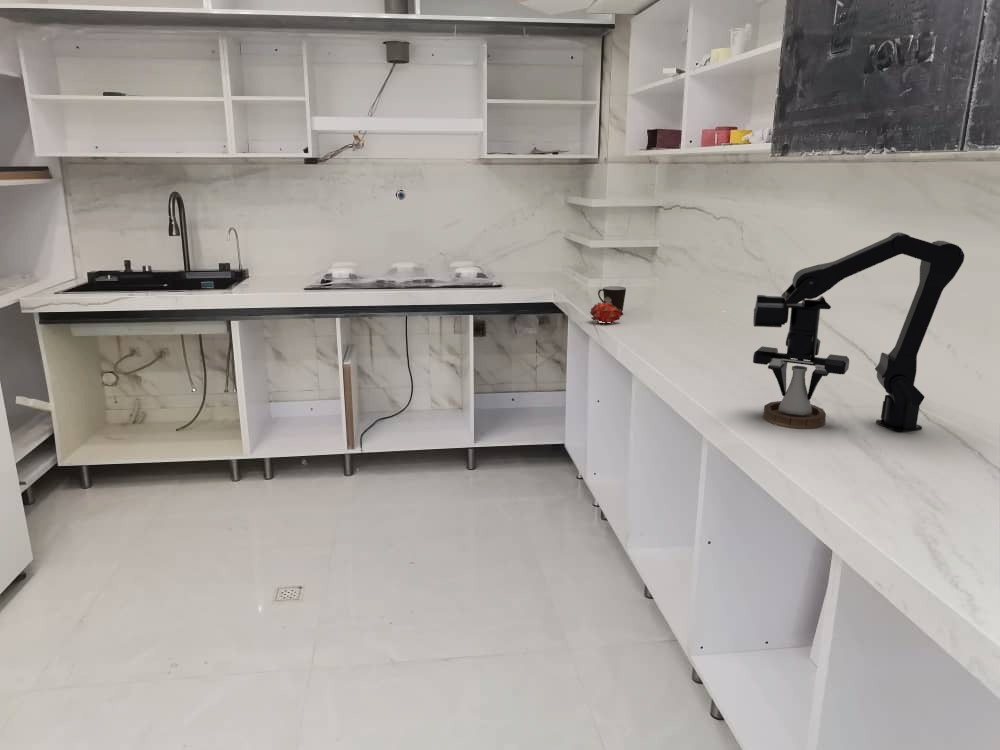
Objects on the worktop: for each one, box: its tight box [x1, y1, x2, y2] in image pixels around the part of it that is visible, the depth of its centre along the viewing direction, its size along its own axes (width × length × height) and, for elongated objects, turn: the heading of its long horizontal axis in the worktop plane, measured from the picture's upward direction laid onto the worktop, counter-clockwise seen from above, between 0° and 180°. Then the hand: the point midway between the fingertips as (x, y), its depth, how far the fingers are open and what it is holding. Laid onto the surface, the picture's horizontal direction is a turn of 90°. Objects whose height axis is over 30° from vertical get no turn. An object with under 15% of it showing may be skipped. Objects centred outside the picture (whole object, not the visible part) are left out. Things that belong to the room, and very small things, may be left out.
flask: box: [778, 365, 812, 415], centre depth 159 cm, size 7×7×10 cm
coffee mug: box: [597, 285, 627, 311], centre depth 276 cm, size 12×9×10 cm
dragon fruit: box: [589, 302, 624, 323], centre depth 258 cm, size 8×8×12 cm
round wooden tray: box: [762, 400, 827, 430], centre depth 161 cm, size 13×13×2 cm
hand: (796, 397), depth 160 cm, fingers closed on flask, 5 cm apart
